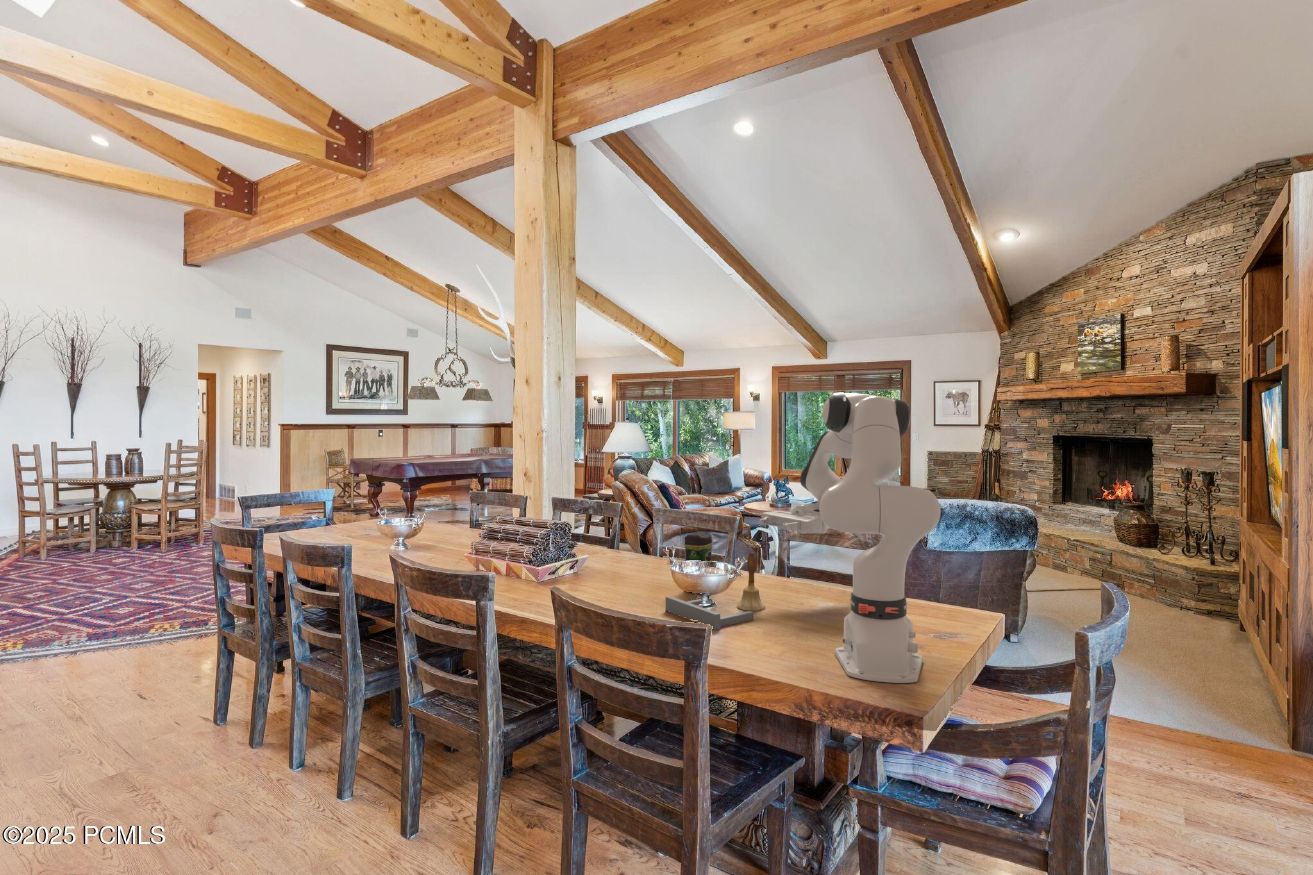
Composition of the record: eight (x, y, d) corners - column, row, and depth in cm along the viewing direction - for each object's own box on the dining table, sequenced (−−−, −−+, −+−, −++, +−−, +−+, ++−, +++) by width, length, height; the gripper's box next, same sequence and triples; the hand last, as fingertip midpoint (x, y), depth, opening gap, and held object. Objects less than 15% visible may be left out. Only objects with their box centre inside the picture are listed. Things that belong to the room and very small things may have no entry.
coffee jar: (693, 584, 220) (693, 529, 220) (715, 587, 216) (715, 530, 216) (680, 591, 211) (680, 533, 211) (703, 594, 208) (703, 535, 207)
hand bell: (757, 602, 198) (757, 549, 197) (770, 609, 190) (770, 554, 189) (731, 604, 195) (731, 550, 195) (744, 612, 187) (744, 555, 187)
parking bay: (705, 603, 197) (705, 589, 197) (757, 620, 179) (757, 605, 179) (665, 610, 188) (665, 596, 188) (715, 630, 170) (715, 614, 170)
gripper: (780, 504, 213) (748, 509, 205) (830, 512, 196) (798, 518, 188) (780, 524, 213) (748, 530, 205) (830, 533, 197) (798, 540, 189)
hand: (772, 524), depth 197 cm, fingers open, 8 cm apart
